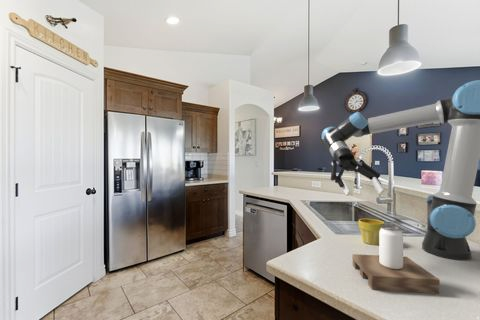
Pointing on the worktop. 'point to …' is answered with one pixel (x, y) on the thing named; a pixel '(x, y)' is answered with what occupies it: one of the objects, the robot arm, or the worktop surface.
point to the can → (391, 247)
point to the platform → (395, 275)
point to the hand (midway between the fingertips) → (365, 192)
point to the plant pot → (370, 230)
